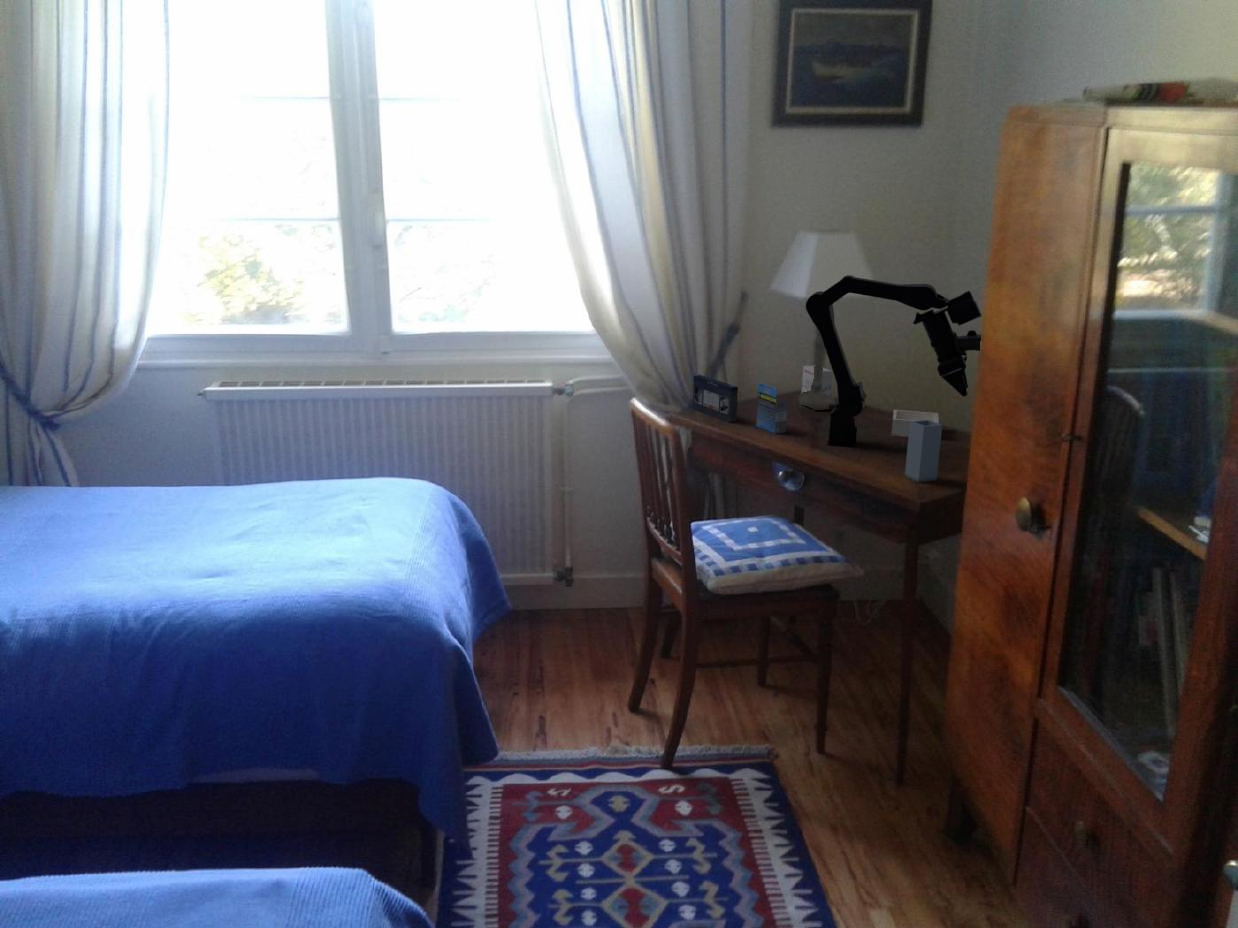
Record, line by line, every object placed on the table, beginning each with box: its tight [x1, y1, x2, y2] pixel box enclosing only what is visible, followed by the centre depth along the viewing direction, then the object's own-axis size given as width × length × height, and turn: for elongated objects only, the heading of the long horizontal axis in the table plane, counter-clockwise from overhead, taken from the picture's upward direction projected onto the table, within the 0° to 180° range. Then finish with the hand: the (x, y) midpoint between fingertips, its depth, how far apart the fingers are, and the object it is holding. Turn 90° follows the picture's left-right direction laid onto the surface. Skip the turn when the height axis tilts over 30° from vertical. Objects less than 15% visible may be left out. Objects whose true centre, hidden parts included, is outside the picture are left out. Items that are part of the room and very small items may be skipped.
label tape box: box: [756, 381, 788, 435], centre depth 283 cm, size 9×4×12 cm, turn 27°
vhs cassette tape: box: [692, 374, 739, 424], centre depth 297 cm, size 18×3×10 cm, turn 28°
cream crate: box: [890, 409, 940, 438], centre depth 284 cm, size 12×12×4 cm
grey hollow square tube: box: [904, 420, 943, 483], centre depth 242 cm, size 5×5×13 cm
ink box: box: [801, 365, 833, 397], centre depth 308 cm, size 8×5×12 cm, turn 22°
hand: (965, 392), depth 259 cm, fingers open, 9 cm apart
